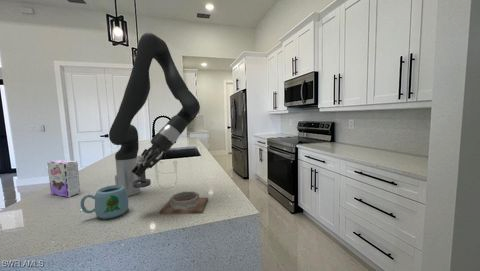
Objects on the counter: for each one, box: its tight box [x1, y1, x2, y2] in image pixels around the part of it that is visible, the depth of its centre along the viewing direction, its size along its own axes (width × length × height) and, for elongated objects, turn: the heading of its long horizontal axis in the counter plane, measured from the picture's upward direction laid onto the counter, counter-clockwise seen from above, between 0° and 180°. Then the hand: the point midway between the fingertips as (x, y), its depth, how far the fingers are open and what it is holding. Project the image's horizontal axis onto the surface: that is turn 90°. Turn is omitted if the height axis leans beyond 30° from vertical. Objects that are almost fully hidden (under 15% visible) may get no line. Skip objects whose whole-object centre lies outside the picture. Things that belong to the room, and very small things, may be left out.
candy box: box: [46, 159, 81, 198], centre depth 102 cm, size 14×6×16 cm, turn 68°
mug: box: [79, 184, 130, 220], centre depth 79 cm, size 15×11×10 cm
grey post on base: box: [133, 155, 152, 189], centre depth 78 cm, size 6×6×11 cm
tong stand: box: [159, 191, 209, 215], centre depth 85 cm, size 16×12×4 cm
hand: (135, 174), depth 77 cm, fingers closed on grey post on base, 3 cm apart
